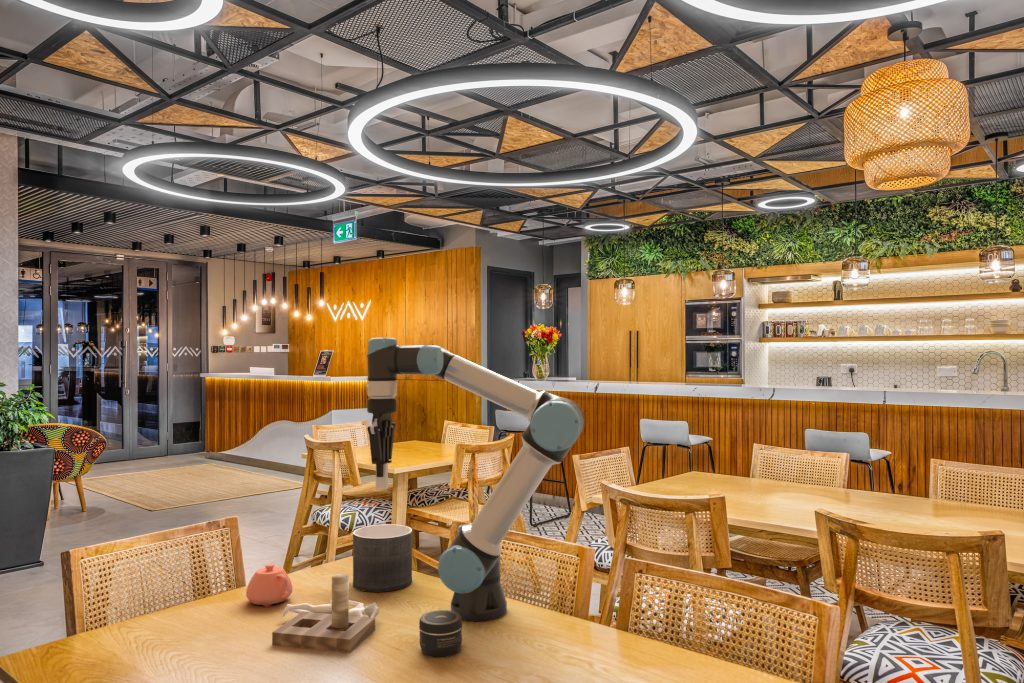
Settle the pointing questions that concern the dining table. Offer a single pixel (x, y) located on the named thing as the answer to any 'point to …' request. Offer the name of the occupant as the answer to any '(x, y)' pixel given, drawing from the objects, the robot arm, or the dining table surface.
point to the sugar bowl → (269, 586)
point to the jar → (440, 633)
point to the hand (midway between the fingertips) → (381, 489)
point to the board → (322, 632)
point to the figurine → (327, 609)
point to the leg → (340, 602)
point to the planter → (382, 557)
